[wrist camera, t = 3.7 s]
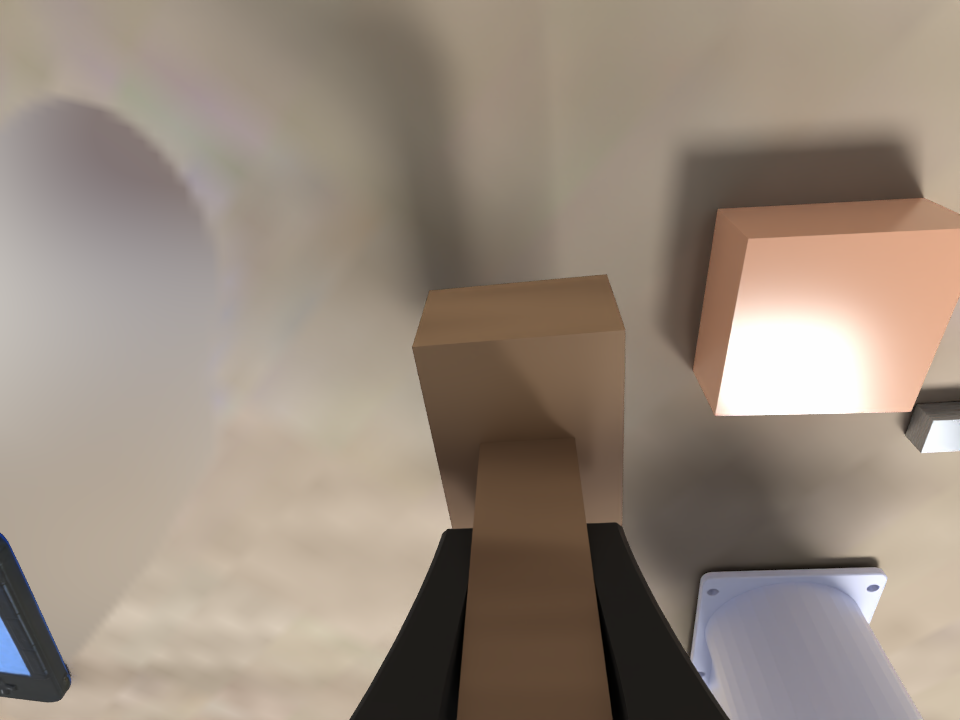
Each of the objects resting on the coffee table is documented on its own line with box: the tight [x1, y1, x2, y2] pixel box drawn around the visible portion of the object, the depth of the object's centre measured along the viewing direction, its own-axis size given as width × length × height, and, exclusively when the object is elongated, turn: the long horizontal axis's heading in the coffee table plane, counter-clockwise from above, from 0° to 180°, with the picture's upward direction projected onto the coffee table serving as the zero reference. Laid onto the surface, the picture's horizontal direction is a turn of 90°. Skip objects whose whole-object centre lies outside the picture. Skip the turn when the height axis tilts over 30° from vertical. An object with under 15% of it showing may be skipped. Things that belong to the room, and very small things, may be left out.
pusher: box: [412, 274, 625, 720], centre depth 11 cm, size 8×4×8 cm, turn 7°
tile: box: [693, 198, 960, 416], centre depth 17 cm, size 6×6×3 cm
